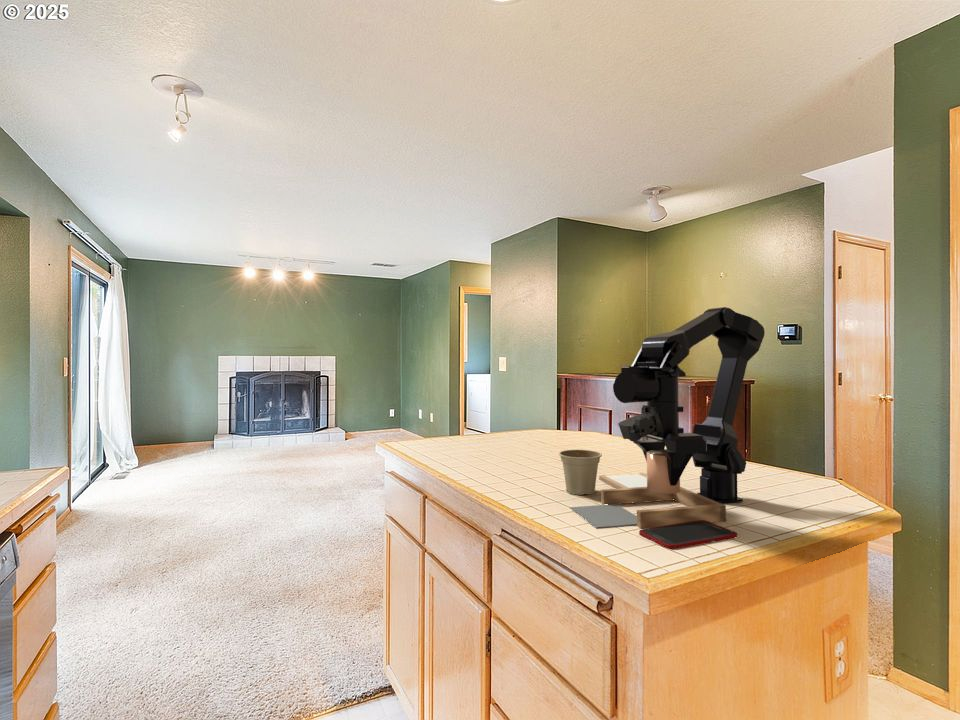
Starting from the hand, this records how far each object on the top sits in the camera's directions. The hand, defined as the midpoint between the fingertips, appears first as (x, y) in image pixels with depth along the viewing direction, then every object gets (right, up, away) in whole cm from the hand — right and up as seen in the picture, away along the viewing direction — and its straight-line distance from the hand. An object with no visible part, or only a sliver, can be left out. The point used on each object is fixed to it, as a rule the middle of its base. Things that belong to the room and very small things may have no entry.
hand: (663, 481), depth 95 cm
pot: (0, -2, 0) cm, 2 cm away
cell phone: (-1, -6, -13) cm, 14 cm away
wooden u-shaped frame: (-1, -6, 0) cm, 6 cm away
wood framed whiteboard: (+1, -6, +19) cm, 20 cm away
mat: (-12, -6, -2) cm, 13 cm away
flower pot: (-13, -6, +15) cm, 21 cm away
